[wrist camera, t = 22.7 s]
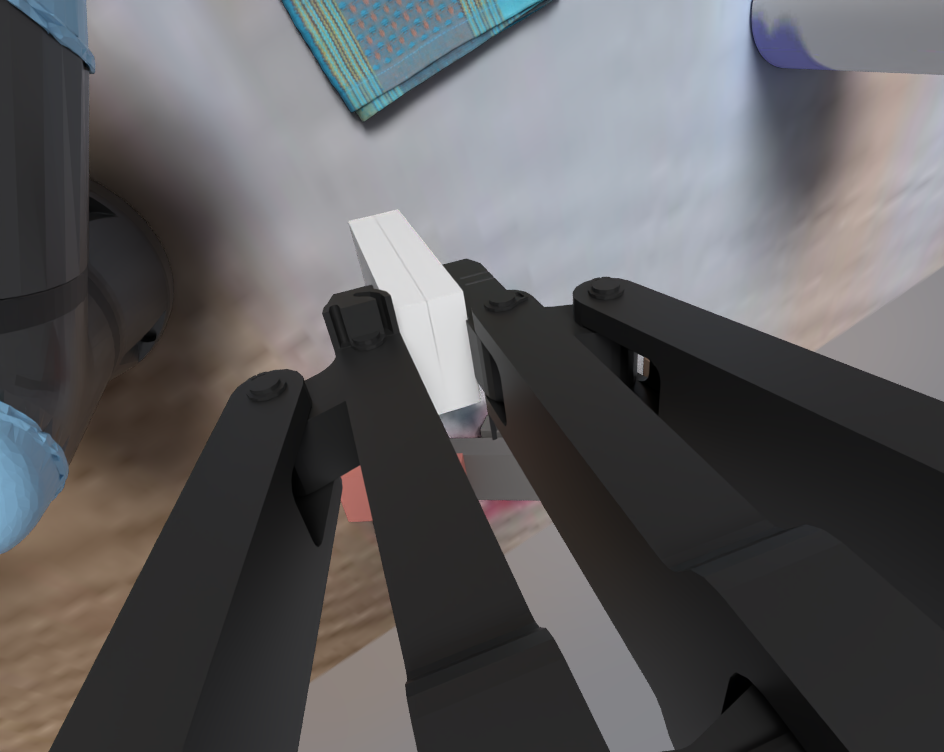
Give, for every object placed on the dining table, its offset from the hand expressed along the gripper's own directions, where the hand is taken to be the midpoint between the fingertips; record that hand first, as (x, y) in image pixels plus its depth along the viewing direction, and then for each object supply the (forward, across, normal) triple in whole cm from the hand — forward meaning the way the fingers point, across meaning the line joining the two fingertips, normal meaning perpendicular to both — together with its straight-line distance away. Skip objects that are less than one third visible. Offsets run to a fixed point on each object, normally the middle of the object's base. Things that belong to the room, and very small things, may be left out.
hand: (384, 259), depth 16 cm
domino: (+25, +1, -31) cm, 40 cm away
